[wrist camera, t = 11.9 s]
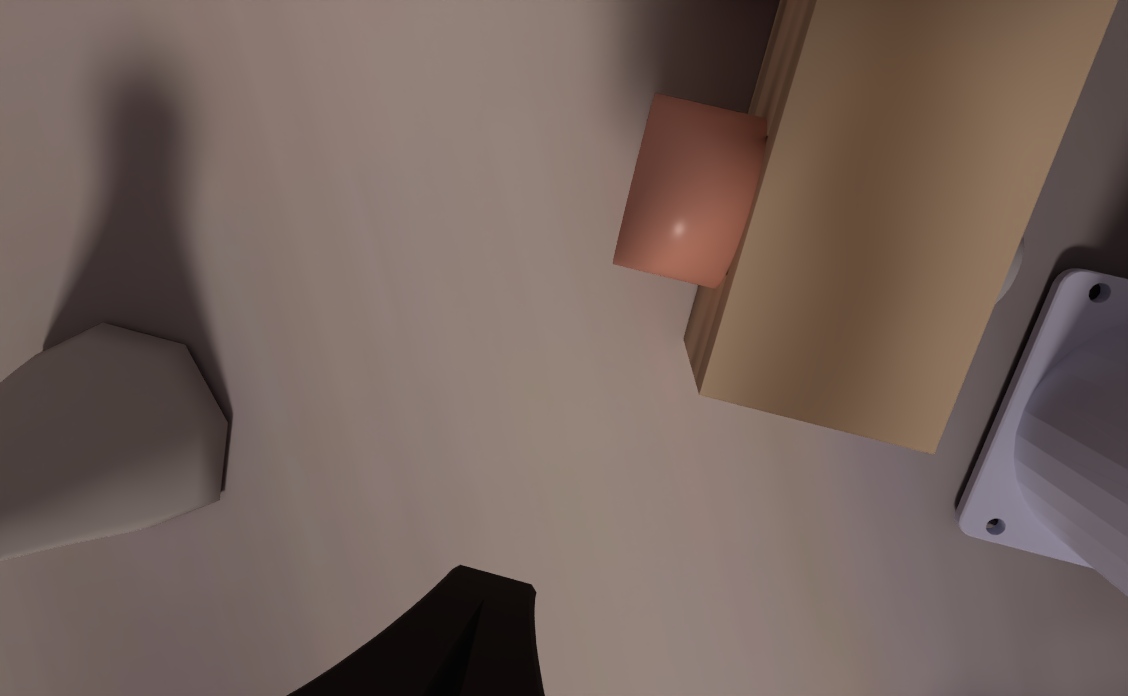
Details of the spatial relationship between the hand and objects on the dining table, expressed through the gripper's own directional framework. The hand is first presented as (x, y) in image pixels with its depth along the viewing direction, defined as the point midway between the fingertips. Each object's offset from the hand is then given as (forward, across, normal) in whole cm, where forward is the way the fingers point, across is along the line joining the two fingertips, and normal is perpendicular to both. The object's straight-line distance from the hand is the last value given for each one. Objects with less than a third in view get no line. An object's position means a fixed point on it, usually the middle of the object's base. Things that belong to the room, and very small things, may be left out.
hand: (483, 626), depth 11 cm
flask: (+10, +14, +4) cm, 18 cm away
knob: (+9, -5, -7) cm, 13 cm away
